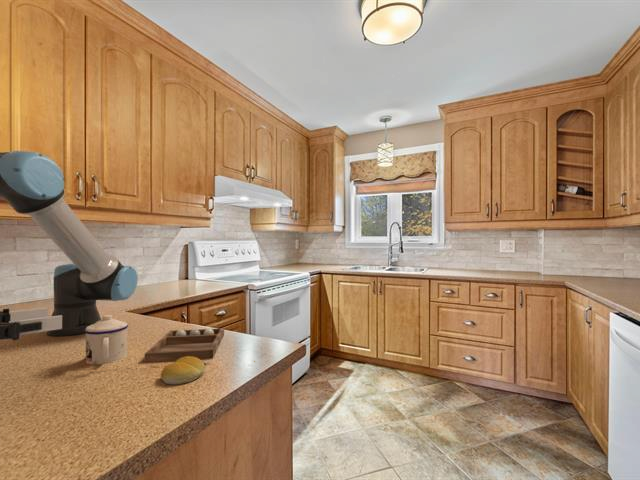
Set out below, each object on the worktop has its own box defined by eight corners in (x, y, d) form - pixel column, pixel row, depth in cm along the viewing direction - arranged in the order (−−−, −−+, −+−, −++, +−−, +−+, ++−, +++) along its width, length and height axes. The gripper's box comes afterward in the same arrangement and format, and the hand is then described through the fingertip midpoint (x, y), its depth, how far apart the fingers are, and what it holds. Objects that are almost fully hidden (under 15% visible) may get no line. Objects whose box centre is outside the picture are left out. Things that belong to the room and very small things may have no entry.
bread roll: (152, 384, 68) (152, 365, 68) (181, 368, 77) (181, 351, 77) (186, 388, 66) (186, 369, 66) (211, 371, 75) (211, 354, 75)
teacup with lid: (86, 359, 82) (86, 314, 82) (127, 353, 87) (128, 310, 87) (80, 376, 72) (80, 324, 72) (127, 368, 76) (128, 319, 77)
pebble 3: (204, 337, 98) (204, 327, 98) (214, 336, 98) (214, 327, 98) (202, 340, 95) (202, 330, 95) (213, 339, 95) (213, 329, 95)
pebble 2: (190, 338, 97) (190, 328, 97) (201, 337, 98) (201, 327, 98) (188, 341, 94) (188, 330, 94) (199, 340, 95) (199, 330, 95)
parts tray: (170, 340, 98) (170, 330, 98) (224, 337, 101) (224, 328, 101) (144, 366, 77) (144, 353, 77) (213, 361, 80) (213, 349, 80)
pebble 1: (176, 338, 96) (176, 328, 96) (187, 338, 97) (187, 328, 97) (174, 341, 93) (174, 331, 93) (184, 341, 94) (184, 331, 94)
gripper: (-97, 345, 63) (43, 325, 79) (-112, 378, 47) (68, 345, 63) (-96, 307, 63) (43, 295, 80) (-110, 327, 47) (68, 307, 63)
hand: (54, 317), depth 71 cm, fingers open, 13 cm apart
